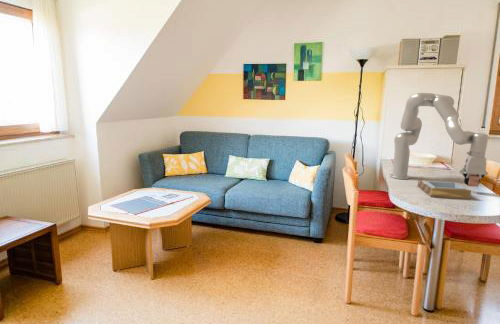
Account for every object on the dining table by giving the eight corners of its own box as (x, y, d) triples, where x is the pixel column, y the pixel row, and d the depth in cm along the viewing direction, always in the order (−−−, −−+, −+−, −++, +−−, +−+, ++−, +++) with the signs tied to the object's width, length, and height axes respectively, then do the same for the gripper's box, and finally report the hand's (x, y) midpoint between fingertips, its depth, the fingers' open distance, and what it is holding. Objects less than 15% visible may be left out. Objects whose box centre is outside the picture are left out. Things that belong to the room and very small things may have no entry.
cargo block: (464, 183, 194) (466, 174, 193) (473, 184, 193) (475, 174, 192) (468, 186, 189) (470, 176, 188) (478, 186, 188) (479, 176, 187)
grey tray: (425, 187, 196) (425, 181, 195) (454, 189, 193) (455, 182, 192) (433, 194, 183) (434, 187, 182) (465, 196, 180) (466, 188, 179)
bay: (417, 186, 204) (418, 178, 203) (451, 188, 201) (452, 180, 200) (430, 197, 182) (431, 188, 181) (469, 199, 179) (471, 190, 178)
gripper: (463, 154, 185) (458, 185, 189) (496, 156, 182) (490, 187, 186) (458, 152, 192) (452, 181, 196) (489, 154, 189) (483, 183, 193)
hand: (471, 184), depth 191 cm, fingers closed on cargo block, 5 cm apart
